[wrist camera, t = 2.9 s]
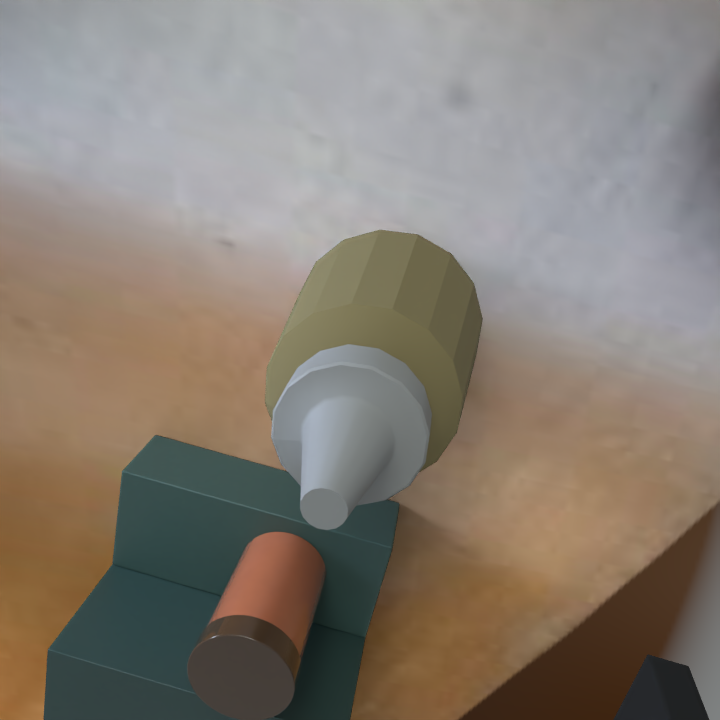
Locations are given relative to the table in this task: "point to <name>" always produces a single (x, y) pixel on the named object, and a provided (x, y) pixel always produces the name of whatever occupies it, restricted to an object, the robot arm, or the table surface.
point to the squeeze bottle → (371, 371)
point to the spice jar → (259, 629)
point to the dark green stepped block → (208, 589)
